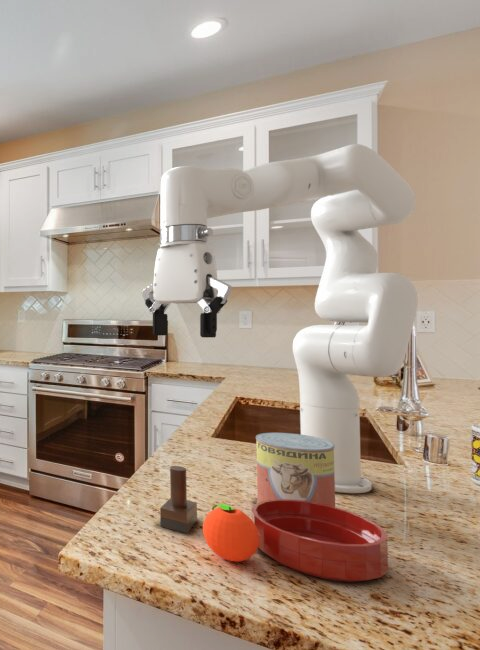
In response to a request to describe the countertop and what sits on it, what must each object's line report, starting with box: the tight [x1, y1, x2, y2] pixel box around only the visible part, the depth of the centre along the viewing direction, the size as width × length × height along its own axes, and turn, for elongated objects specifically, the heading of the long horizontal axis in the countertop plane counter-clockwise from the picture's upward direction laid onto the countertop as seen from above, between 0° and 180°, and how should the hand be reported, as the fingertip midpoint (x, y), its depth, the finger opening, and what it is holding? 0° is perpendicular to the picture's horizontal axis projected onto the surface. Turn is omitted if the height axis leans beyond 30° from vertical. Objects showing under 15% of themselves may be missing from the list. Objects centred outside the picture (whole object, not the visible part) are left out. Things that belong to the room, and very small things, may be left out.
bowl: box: [251, 499, 389, 583], centre depth 67 cm, size 15×15×5 cm
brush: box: [159, 465, 198, 534], centre depth 77 cm, size 6×4×9 cm, turn 140°
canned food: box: [255, 431, 336, 507], centre depth 82 cm, size 11×11×12 cm
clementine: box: [202, 503, 259, 562], centre depth 67 cm, size 8×7×7 cm
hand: (182, 336), depth 83 cm, fingers open, 9 cm apart
